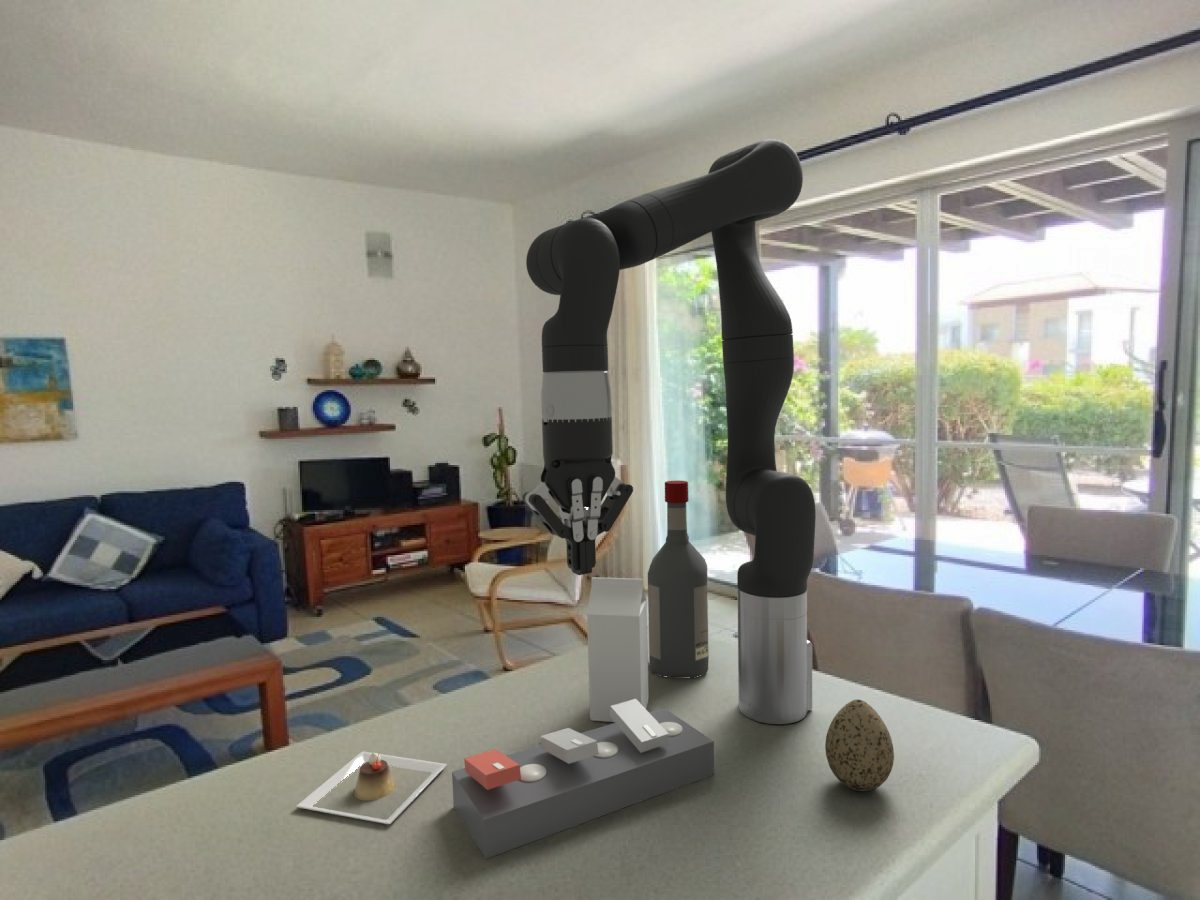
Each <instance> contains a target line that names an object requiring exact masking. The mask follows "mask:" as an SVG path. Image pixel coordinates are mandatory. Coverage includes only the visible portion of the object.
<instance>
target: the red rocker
mask: <svg viewBox="0 0 1200 900" xmlns="http://www.w3.org/2000/svg"><path fill="white" fill-rule="evenodd" d="M463 761H464V762H463V763H464V768H465V772H466V773H468V774H469V775H470V776H471V777H472V778H474V779H475V780H476V781H477V782H479V783H480V784H481V785H482V786H483V787H485V788H486V789H487V790H489V789H492V788H495V787H498V786H501V785H504V784H507V783H510V782H513V781H517V780H520V779H521V773H520V765H519V764H518V763H516V762H514V761H513V760H511V759H510V758H508V757H507V756H506V755H505V754H504V753H502V752H501V751H499V750H497V748H495V749H491V750H489V751H485V752H480V753H478V754H475V755H471V756H467V757H465V758H463Z"/></svg>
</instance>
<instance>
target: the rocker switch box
mask: <svg viewBox="0 0 1200 900" xmlns="http://www.w3.org/2000/svg"><path fill="white" fill-rule="evenodd" d="M649 713H650V714H651V715H652V716H653V717H654V718H655V720H656V721H657V722H658V723H659V724H660V725H661V726H662V727H663V728H664V729H665V730H666V731H667V732H668V733H669V735H668V743H667V744H666V745H663V746H660V747H657V748H654V749H651V750H648V751H645V752H642V753H641V752H640V751H639V750H638V749H637V748H636V747H635V745H634V744H633V743H632V742H631V741H630V740H629V738H628V737H627V736H626V735H625V734H624V733H623V731H622V730H621V729H620V728H619V727H618V725H617V724H616V723H615V722H612V723H610V724H606V725H603V726H601V727H597V728H594V729H590V730H586V731H584V732H580V733H581V734H583V735H585V736H587V737H590V738H592V739H594V740H596V741H597V745H598V753H599V754H598V755H595V756H591V757H588V758H585V759H582V760H579V761H576V762H573V763H570V764H568V763H566V762H565V761H563V760H561V759H559V758H558V757H556V756H554V755H552V754H550V753H549V752H547V751H545V750H543V749H542V746H541V744H540V745H536V746H534V747H530V748H526V749H523V750H520V751H517V752H516V751H515V752H514V753H510V754H507V755H505V756H507V757H508V758H510V759H511V760H513V761H514V762H516V763H518V764H519V765H520V773H521V779H520V780H517V781H513V782H510V783H507V784H504V785H501V786H498V787H495V788H492V789H489V790H487V789H486V788H485V787H483V786H482V785H481V784H480V783H479V782H477V781H476V780H475V779H474V778H472V777H471V776H470V775H469V774H468V773H466V772H465V767H463V768H460V769H457V770H454V771H452V772H451V778H452V779H451V781H452V798H453V799H452V800H453V801H452V802H453V808H454V810H455V811H456V813H457V815H458V816H459V818H460V820H461V821H462V823H463V825H464V826H465V828H466V829H467V831H468V832H469V834H470V836H471V837H472V839H473V840H474V842H475V843H476V846H477V847H478V848H479V850H480V852H481V854H482V855H483V857H484V859H486V860H487V859H490V858H493V857H495V856H497V855H499V854H502V853H506V852H509V851H511V850H513V849H516V848H519V847H522V846H524V845H527V844H530V843H533V842H535V841H538V840H541V839H544V838H546V837H548V836H551V835H554V834H557V833H559V832H563V831H565V830H568V829H570V828H574V827H576V826H578V825H581V824H584V823H586V822H589V821H592V820H595V819H598V818H600V817H602V816H605V815H608V814H612V813H613V812H616V811H618V810H619V811H620V810H623V809H625V808H627V807H631V806H632V805H635V804H637V803H640V802H644V801H646V800H648V799H651V798H654V797H656V796H659V795H663V794H665V793H667V792H671V791H672V790H675V789H679V788H681V787H683V786H687V785H689V784H692V783H694V782H697V781H700V780H702V779H705V778H709V777H710V776H713V775H715V741H714V740H713V739H711V738H710V737H709V736H707V735H705V734H703V733H702V732H701V731H699V730H698V729H696V728H695V727H693V726H692V725H690V724H689V723H688V722H686V721H684V720H683V719H682V718H680V717H678V716H677V715H676V714H674V713H672V712H671V711H669V710H668V709H666V708H665V707H664V708H661V709H657V710H653V711H650V712H649Z"/></svg>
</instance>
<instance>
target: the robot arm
mask: <svg viewBox="0 0 1200 900" xmlns="http://www.w3.org/2000/svg"><path fill="white" fill-rule="evenodd" d="M803 174H804V173H803V169H802V164H801V161H800V157H799V156H798V154H797V153H796V151H795V150H794V148H793V147H791V146H790V145H789V144H788V143H786V142H784V141H783V140H779V139H764V140H760V141H755V142H753V143H751V144H748V145H746V146H743V147H741V148H739V149H736V150H734V151H731V152H728V153H726V154H724V155H722V156H720V157H718V158H717V159H715V160H714V161H713V163H712V164H711V166H710V168H709V170H708V173H707V174H704V175H702V176H698V177H695V178H693V179H689V180H686V181H683V182H682V181H681V182H679V183H676V184H672V185H669V186H666V187H662V188H659V189H656V190H655V189H654V190H653V191H650V192H647V193H646V192H645V193H644V194H641V195H638V196H636V197H632V198H630V199H628V200H625V201H623V202H620V203H618V204H615V205H614V206H612V207H610V208H609V209H606V210H604V211H602V212H601V213H597V214H596V215H593V216H588V217H584V218H582V217H581V218H578V219H576V220H573V221H569V222H567V223H564V224H561V225H558V226H555V227H553V228H550V229H547V230H545V231H543V232H541V233H540V234H539V235H538V236H537V237H535V239H533V241H532V242H531V244H530V246H529V248H528V251H527V254H526V257H525V258H526V259H525V260H526V261H525V264H526V270H527V271H526V272H527V274H528V276H529V278H530V280H531V281H532V283H533V284H534V285H535V286H536V287H537V288H538V289H539V290H541V291H543V292H544V293H546V294H550V295H554V296H559V302H558V308H557V310H556V312H555V314H554V315H552V316H551V317H550V318H548V319H547V320H546V321H545V322H544V323H543V326H542V330H541V354H542V355H541V359H542V363H541V364H542V381H541V391H540V392H541V393H540V394H541V395H540V400H541V401H540V403H541V404H540V405H541V407H540V408H541V430H542V431H541V432H542V433H541V435H542V457H543V458H542V459H543V462H544V463H543V465H544V466H543V468H542V469H543V470H542V471H541V474H540V482H539V483H538V485H537V486H535V488H533V490H531V491H526V492H525V493H523V495H522V501H523V503H524V504H525V505H526V506H527V507H528V508H529V510H530V511H531V512H532V513H533V514H534V515H535V517H536V519H538V520H539V521H540V523H541V524H542V525H543V526H544V528H545V529H546V530H547V531H548V532H549V534H550V535H553V536H557V537H559V538H561V539H565V542H566V564H567V568H568V569H570V570H571V572H572V573H573V574H576V575H577V576H582V575H588V574H589V575H590V574H592V573H593V568H595V566H596V564H597V558H596V557H597V556H596V551H597V550H596V539H597V537H598V536H599V535H601V534H603V533H604V532H605V533H607V532H610V530H611V529H612V528H613V526H614V524H615V523H616V521H617V519H618V517H619V515H620V514H621V512H622V510H623V509H624V508H625V506H626V504H627V502H628V501H629V499H630V497H631V495H632V494H633V492H634V487H633V486H632V485H631V484H630V483H629V484H628V483H624V482H623V481H622V480H620V479H619V478H618V477H617V476H616V470H615V468H614V466H613V463H612V457H613V453H614V451H613V448H614V447H613V415H612V414H613V405H612V390H611V385H610V377H609V349H608V348H609V347H608V345H609V344H608V328H609V325H610V322H611V318H612V315H613V314H612V313H613V309H614V303H615V298H616V294H617V289H618V285H619V284H618V283H619V276H620V271H621V270H627V269H632V268H635V267H638V266H641V265H644V264H646V263H648V262H650V261H653V260H655V259H657V258H659V257H662V256H664V255H666V254H668V253H670V252H673V251H674V250H676V249H678V248H681V247H683V246H685V245H687V244H688V243H691V242H693V241H695V240H697V239H699V238H701V237H704V236H705V235H707V234H709V233H711V237H712V238H711V239H712V242H713V251H714V256H715V257H714V258H715V264H716V271H717V282H718V283H717V284H718V293H719V295H718V296H719V306H720V321H721V323H720V326H721V347H722V348H721V349H722V363H723V365H722V366H723V373H724V374H723V376H724V384H725V387H724V388H725V407H726V411H725V412H726V426H727V427H726V428H727V429H726V430H727V450H726V451H727V452H726V453H727V454H726V476H725V504H726V510H727V514H728V516H729V518H730V521H731V522H732V524H733V525H734V526H735V527H736V528H737V529H739V531H742V532H744V533H747V534H750V535H751V536H754V538H755V539H754V555H753V559H752V560H750V561H746V562H744V563H742V564H741V565H739V567H738V570H737V574H736V575H737V580H736V581H737V589H736V591H737V592H736V593H737V660H738V661H737V666H738V667H737V669H738V670H737V671H738V673H737V674H738V677H737V679H738V680H737V683H738V709H739V712H740V713H742V714H743V715H744V716H745V717H746V718H749V719H751V720H754V721H756V722H760V723H764V724H770V725H788V724H792V723H796V722H799V721H801V720H803V719H805V717H806V716H807V713H808V711H810V710H812V709H813V644H812V642H811V640H808V619H807V618H808V579H809V576H810V574H811V571H812V568H813V565H814V557H815V556H814V555H815V537H816V536H815V535H816V503H815V496H814V493H813V491H812V488H811V486H810V485H809V484H808V483H807V482H806V480H805V479H803V478H802V477H800V476H798V475H796V474H792V473H789V472H783V471H778V470H777V464H776V463H777V462H776V450H775V449H776V447H775V436H776V434H775V433H776V428H777V427H776V426H777V423H778V420H779V417H780V413H781V411H782V408H783V406H784V404H785V400H786V398H787V396H788V393H789V390H790V387H791V384H792V381H793V377H794V371H795V358H794V357H795V355H794V354H795V352H794V335H793V333H794V332H793V325H792V319H791V315H790V313H789V311H788V310H787V308H786V305H785V304H784V302H783V300H782V297H780V295H779V293H778V292H777V291H776V289H775V287H774V286H773V284H772V283H771V281H770V280H769V278H768V276H767V275H766V273H765V271H764V269H763V267H762V264H761V262H760V258H759V254H758V246H757V236H756V222H758V221H762V220H765V219H768V218H772V217H775V216H777V215H780V214H781V213H784V212H785V211H787V210H789V209H790V208H791V207H792V206H793V205H794V204H795V202H796V201H797V200H798V198H799V196H800V194H801V192H802V188H803V184H804V183H803V181H804V178H803V177H804V175H803ZM606 494H607V496H606V497H605V495H606ZM549 495H550V497H551V498H552V499H553V501H554V502H555V503H556V504H557V506H558V511H559V512H558V513H559V516H560V517H559V516H558V515H557V514H556V513H555V512H554V510H553V509H552V508H551V507H550V502H551V498H550V497H549ZM604 497H605V498H604ZM603 499H604V500H603ZM601 502H602V503H601ZM560 518H561V519H560Z"/></svg>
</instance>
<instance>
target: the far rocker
mask: <svg viewBox="0 0 1200 900" xmlns="http://www.w3.org/2000/svg"><path fill="white" fill-rule="evenodd" d="M610 717H611V718H612V720H613V721H614V722H613V723H616V724H617V725H618V727H619V728H620V729H621V730H622V731H623V733H624V734H625V735H626V736H627V737H628V738H629V740H630V741H631V742H632V743H633V744H634V745H635V747H636V748H637V749H638V750H639V751H640V752H641V753H642V752H645V751H648V750H651V749H654V748H657V747H660V746H663V745H666V744H667V743H668V735H669V733H668V732H667V731H666V730H665V729H664V728H663V727H662V726H661V725H660V724H659V723H658V722H657V721H656V720H655V718H654V717H653V716H652V715H651V714H650V712H649V711H648V709H647V708H646V709H645V708H644V707H643V706H642V705H641V704H640V702H639V701H638V700H637V699H633V700H630V701H626V702H623V703H619V704H616V705H612V706H610Z"/></svg>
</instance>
